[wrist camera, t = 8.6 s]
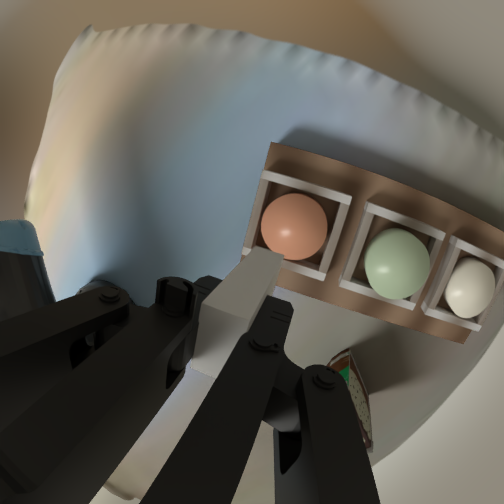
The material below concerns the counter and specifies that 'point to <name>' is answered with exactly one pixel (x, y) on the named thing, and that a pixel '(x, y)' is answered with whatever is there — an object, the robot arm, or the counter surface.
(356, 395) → the food container
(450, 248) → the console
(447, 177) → the counter surface
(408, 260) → the sage button
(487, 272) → the cream button
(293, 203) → the terracotta button
